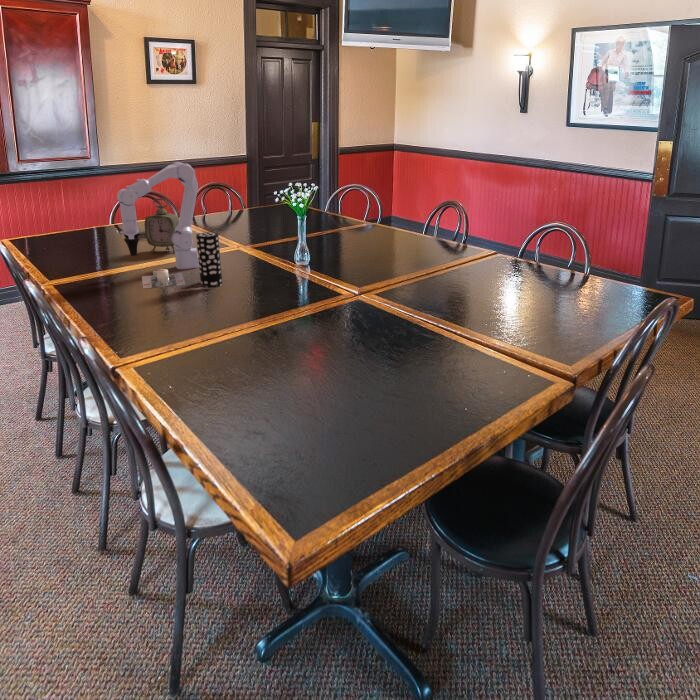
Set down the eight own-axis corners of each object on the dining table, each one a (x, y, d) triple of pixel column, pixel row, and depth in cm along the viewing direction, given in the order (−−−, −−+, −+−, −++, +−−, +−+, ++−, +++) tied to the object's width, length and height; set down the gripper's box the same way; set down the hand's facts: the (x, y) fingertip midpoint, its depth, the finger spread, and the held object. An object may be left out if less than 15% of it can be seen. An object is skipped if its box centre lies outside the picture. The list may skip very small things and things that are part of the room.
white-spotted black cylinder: (226, 282, 262) (222, 233, 255) (215, 288, 255) (211, 237, 247) (207, 281, 265) (203, 231, 257) (196, 286, 257) (191, 236, 250)
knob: (170, 281, 261) (169, 268, 259) (167, 284, 257) (165, 271, 255) (156, 281, 262) (155, 268, 260) (152, 284, 258) (151, 271, 256)
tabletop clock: (147, 253, 310) (141, 199, 300) (156, 249, 318) (149, 196, 309) (176, 254, 307) (170, 200, 298) (184, 250, 316) (179, 197, 306)
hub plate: (182, 275, 273) (181, 269, 272) (185, 286, 257) (185, 280, 257) (142, 278, 269) (141, 272, 268) (143, 290, 253) (142, 284, 252)
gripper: (118, 217, 268) (123, 250, 273) (118, 223, 255) (123, 258, 260) (137, 216, 270) (141, 248, 275) (137, 222, 257) (142, 256, 262)
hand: (133, 253), depth 268 cm, fingers open, 7 cm apart
